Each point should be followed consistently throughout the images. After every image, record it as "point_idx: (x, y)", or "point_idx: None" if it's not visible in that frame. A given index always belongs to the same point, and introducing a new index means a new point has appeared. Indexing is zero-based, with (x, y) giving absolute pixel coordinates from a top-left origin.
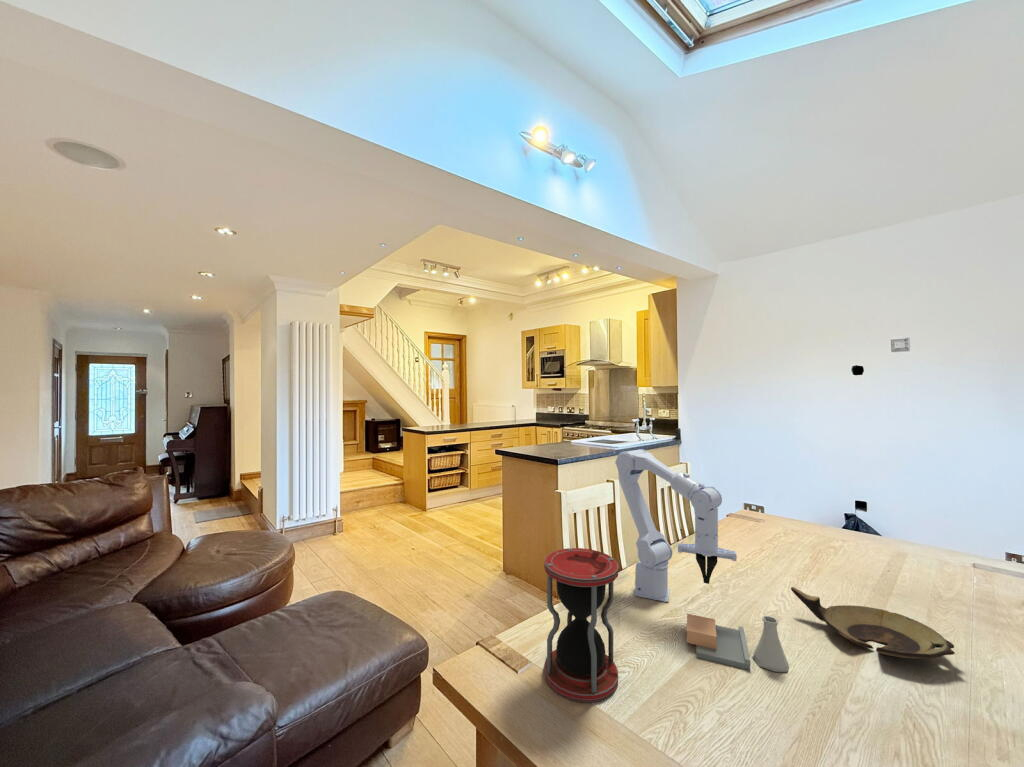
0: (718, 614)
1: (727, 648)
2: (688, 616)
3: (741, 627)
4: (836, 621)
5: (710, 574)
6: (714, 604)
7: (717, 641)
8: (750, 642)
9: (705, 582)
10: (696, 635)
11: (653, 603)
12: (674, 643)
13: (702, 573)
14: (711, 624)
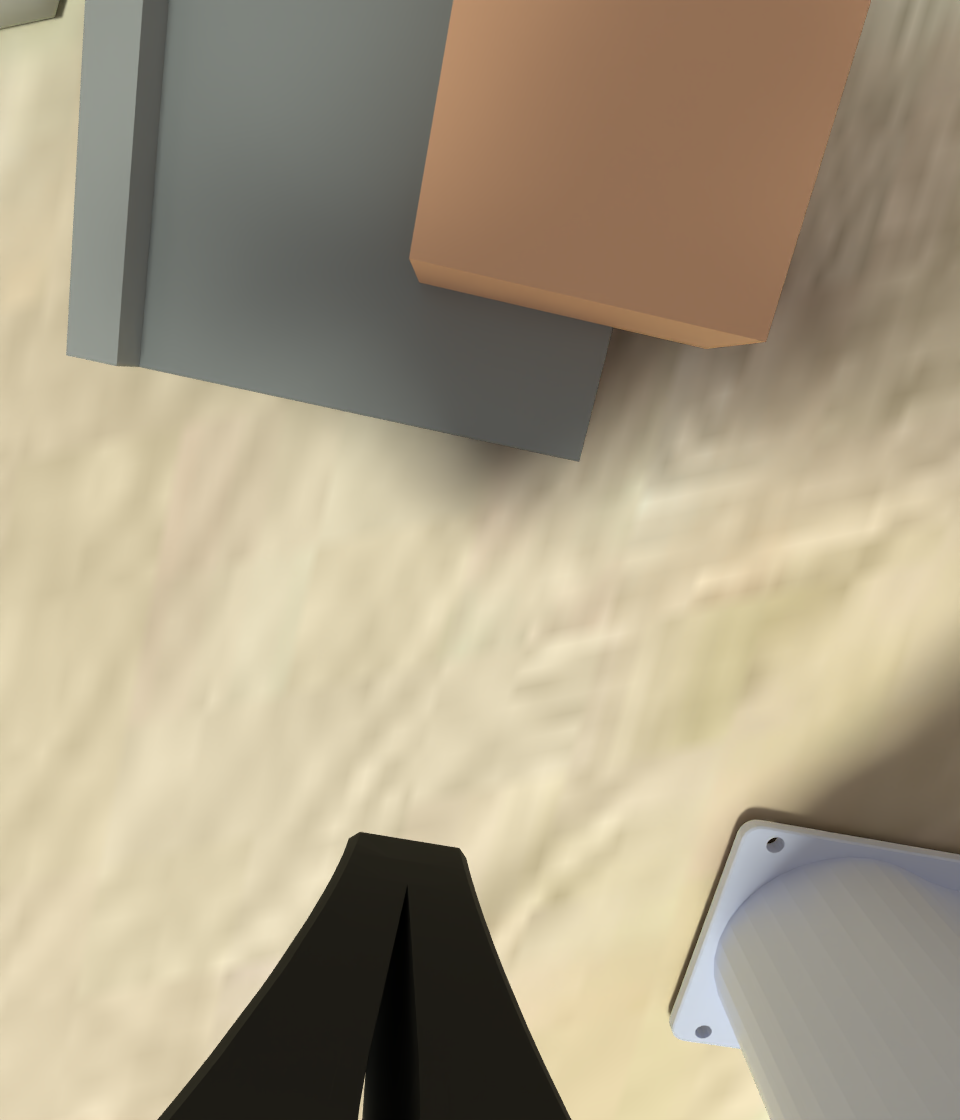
0: (292, 713)
1: None
2: (772, 257)
3: (89, 338)
4: None
5: (263, 1016)
6: (293, 879)
7: (442, 41)
8: (67, 238)
9: (430, 850)
10: None
11: (887, 778)
12: (910, 26)
13: (525, 1040)
14: (494, 84)
